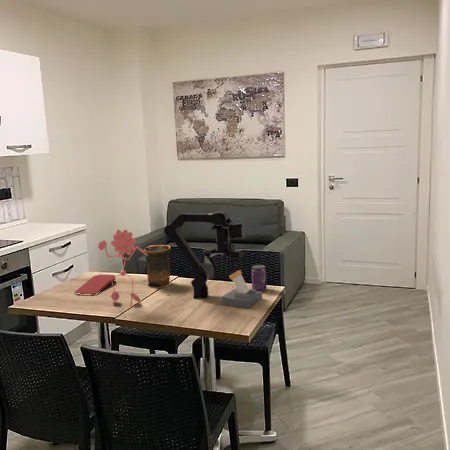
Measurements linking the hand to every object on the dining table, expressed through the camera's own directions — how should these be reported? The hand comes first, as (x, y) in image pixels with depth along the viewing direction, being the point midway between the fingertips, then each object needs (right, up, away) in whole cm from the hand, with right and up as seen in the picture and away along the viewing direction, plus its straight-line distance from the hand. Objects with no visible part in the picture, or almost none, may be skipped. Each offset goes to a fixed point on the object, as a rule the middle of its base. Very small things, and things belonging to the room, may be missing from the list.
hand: (224, 271), depth 227 cm
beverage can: (+17, -11, +12) cm, 23 cm away
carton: (-67, -12, +28) cm, 74 cm away
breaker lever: (+9, -10, -6) cm, 15 cm away
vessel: (-35, -10, +29) cm, 46 cm away
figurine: (-46, -15, +3) cm, 48 cm away
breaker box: (+8, -14, -4) cm, 16 cm away
